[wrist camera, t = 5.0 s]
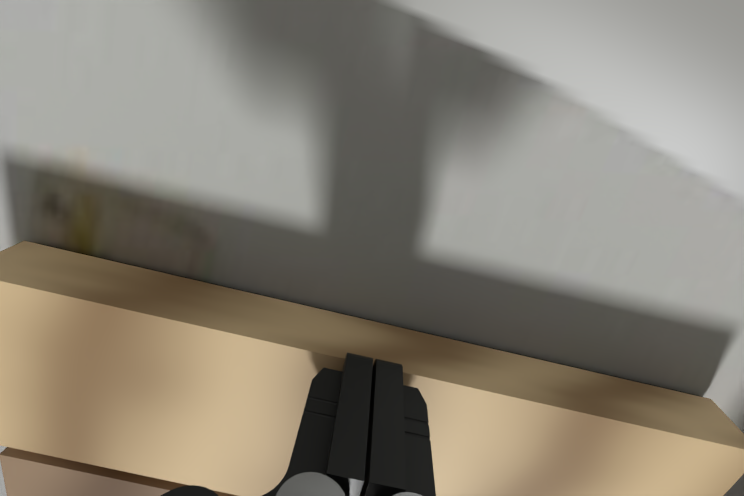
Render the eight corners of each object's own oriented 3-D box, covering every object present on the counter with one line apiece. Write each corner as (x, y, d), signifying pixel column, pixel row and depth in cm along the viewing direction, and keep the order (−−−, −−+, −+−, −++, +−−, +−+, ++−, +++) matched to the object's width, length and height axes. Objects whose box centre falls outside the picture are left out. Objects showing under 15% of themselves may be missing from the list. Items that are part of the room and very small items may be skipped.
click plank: (710, 399, 13) (762, 453, 11) (615, 521, 16) (643, 581, 14) (24, 240, 12) (-43, 271, 10) (47, 398, 15) (-3, 444, 13)
